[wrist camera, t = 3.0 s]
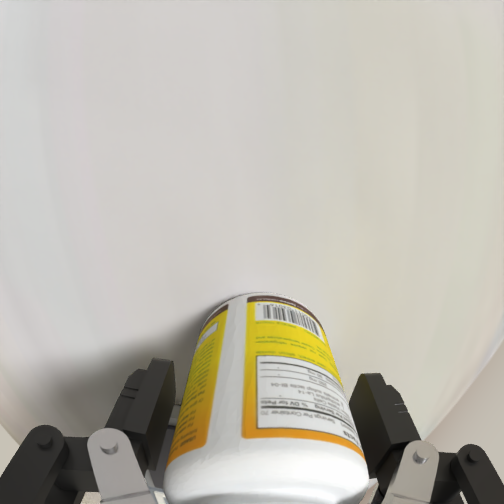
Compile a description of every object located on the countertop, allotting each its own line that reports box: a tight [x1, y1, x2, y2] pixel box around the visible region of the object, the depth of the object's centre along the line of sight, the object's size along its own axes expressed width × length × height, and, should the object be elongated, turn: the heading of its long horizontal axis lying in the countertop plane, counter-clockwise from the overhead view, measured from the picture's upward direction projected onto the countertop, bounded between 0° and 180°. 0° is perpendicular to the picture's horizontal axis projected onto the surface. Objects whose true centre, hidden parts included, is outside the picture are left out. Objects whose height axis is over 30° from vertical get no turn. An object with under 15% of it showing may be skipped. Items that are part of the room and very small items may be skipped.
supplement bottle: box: [163, 292, 369, 504], centre depth 9 cm, size 6×6×10 cm
